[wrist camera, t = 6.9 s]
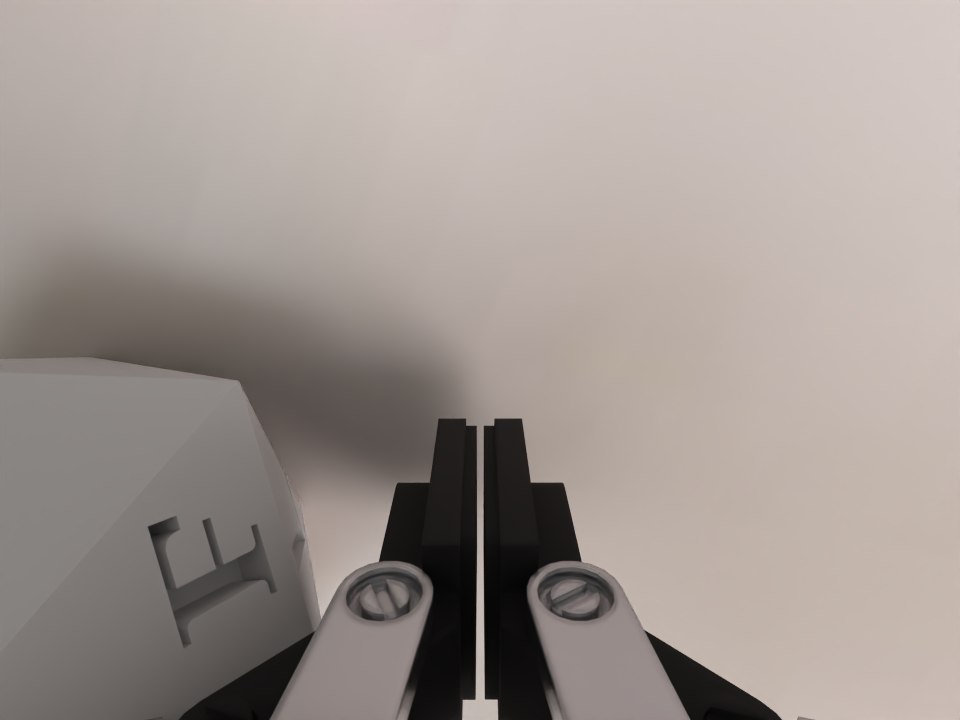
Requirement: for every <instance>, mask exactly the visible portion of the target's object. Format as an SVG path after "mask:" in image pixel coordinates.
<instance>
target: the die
mask: <svg viewBox="0 0 960 720" xmlns="http://www.w3.org/2000/svg"><path fill="white" fill-rule="evenodd" d="M320 622H321V616H320V610H319V605H318V599H317V593H316V588H315V582H314V576H313V571H312V565H311V559H310V554H309V548H308V542H307V537H306V531H305V526H304V520H303V514H302V509H301V504H300V502H299V500H298V498H297V496H296V494H295V492H294V490H293V488H292V486H291V484H290V482H289V480H288V478H287V476H286V474H285V473H284V472H283V469H282V466H281V464H280V462H279V460H278V458H277V456H276V454H275V452H274V450H273V448H272V446H271V444H270V442H269V440H268V438H267V436H266V434H265V432H264V430H263V428H262V426H261V424H260V422H259V420H258V418H257V416H256V414H255V412H254V410H253V408H252V406H251V404H250V402H249V400H248V398H247V396H246V394H245V392H244V390H243V388H242V386H241V384H240V382H239V381H237V380H231V379H225V378H219V377H212V376H206V375H200V374H194V373H187V372H181V371H175V370H169V369H162V368H156V367H150V366H144V365H137V364H131V363H125V362H119V361H112V360H106V359H100V358H94V357H64V358H22V359H0V720H147V719H152V718H157V717H163V720H179V719H180V718H181V716H182V715H183V714H184V713H185V712H186V711H188V710H189V709H190V708H192V707H193V706H194V705H196V704H197V703H198V702H200V701H201V700H203V699H204V698H206V697H208V696H209V695H211V694H213V693H214V692H216V691H217V690H219V689H221V688H222V687H224V686H226V685H227V684H229V683H231V682H232V681H234V680H235V679H237V678H239V677H240V676H242V675H244V674H245V673H247V672H248V671H250V670H252V669H253V668H255V667H257V666H258V665H260V664H262V663H263V662H265V661H266V660H268V659H270V658H271V657H273V656H275V655H276V654H278V653H280V652H281V651H283V650H284V649H286V648H288V647H289V646H291V645H293V644H294V643H296V642H298V641H299V640H301V639H302V638H304V637H306V636H307V635H309V634H311V633H312V632H314V631H316V629H317V627H318V625H319V623H320Z"/></svg>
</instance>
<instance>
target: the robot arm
mask: <svg viewBox="0 0 960 720" xmlns="http://www.w3.org/2000/svg"><path fill="white" fill-rule="evenodd" d="M476 592H477V426H466V419H439V421H438V428H437V435H436V442H435V449H434V456H433V464H432V471H431V478H430V483H397V485H396V489H395V493H394V497H393V502H392V506H391V511H390V515H389V519H388V524H387V528H386V533H385V537H384V541H383V546H382V550H381V554H380V559H379V562H377V563H372V564H368V565H366V566H364V567H361V568H359V569H357V570H355V571H354V572H353V573H351V574H350V575H349V576H347V577H346V578H345V579H344V580H343V582H342V583H341V584H340V586H339V587H338V589H337V591H336V593H335V594H334V596H333V598H332V600H331V602H330V604H329V606H328V608H327V610H326V612H325V614H324V616H323V618H322V620H321V622H320V623H319V625H318V627H317V629H316V631H314V632H312V633H311V634H309V635H307V636H306V637H304V638H302V639H301V640H299V641H298V642H296V643H294V644H293V645H291V646H289V647H288V648H286V649H284V650H283V651H281V652H280V653H278V654H276V655H275V656H273V657H271V658H270V659H268V660H266V661H265V662H263V663H262V664H260V665H258V666H257V667H255V668H253V669H252V670H250V671H248V672H247V673H245V674H244V675H242V676H240V677H239V678H237V679H235V680H234V681H232V682H231V683H229V684H227V685H226V686H224V687H222V688H221V689H219V690H217V691H216V692H214V693H213V694H211V695H209V696H208V697H206V698H204V699H203V700H201V701H200V702H198V703H197V704H196V705H194V706H193V707H192V708H190V709H189V710H188V711H186V712H185V713H184V714H183V715H182V716H181V718H180V719H179V720H462V706H463V700H475V698H476ZM484 650H485V699H498V720H782V719H781V718H780V717H779V716H778V715H777V714H776V713H775V712H774V711H773V710H771V709H770V708H769V707H767V706H766V705H765V704H763V703H762V702H761V701H759V700H758V699H756V698H754V697H753V696H751V695H750V694H748V693H746V692H745V691H743V690H741V689H740V688H738V687H737V686H735V685H733V684H732V683H730V682H728V681H727V680H725V679H723V678H722V677H720V676H719V675H717V674H715V673H714V672H712V671H710V670H709V669H707V668H705V667H704V666H702V665H701V664H699V663H697V662H696V661H694V660H692V659H691V658H689V657H687V656H686V655H684V654H683V653H681V652H679V651H678V650H676V649H674V648H673V647H671V646H670V645H668V644H666V643H665V642H663V641H661V640H660V639H658V638H656V637H655V636H653V635H652V634H650V633H648V632H647V631H645V630H644V629H643V627H642V625H641V623H640V622H639V620H638V618H637V616H636V614H635V612H634V610H633V608H632V606H631V604H630V602H629V600H628V598H627V596H626V594H625V593H624V591H623V589H622V587H621V586H620V584H619V583H618V582H617V580H616V579H615V578H614V577H613V576H611V575H610V574H609V573H607V572H606V571H605V570H603V569H601V568H599V567H596V566H594V565H592V564H588V563H583V562H582V561H581V557H580V552H579V548H578V543H577V539H576V535H575V530H574V526H573V522H572V517H571V513H570V508H569V504H568V500H567V495H566V491H565V487H564V484H563V483H531V481H530V474H529V467H528V460H527V452H526V445H525V438H524V431H523V424H522V419H495V420H494V426H484ZM147 720H163V717H157V718H152V719H147ZM797 720H813V719H808V718H803V717H798V719H797Z"/></svg>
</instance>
